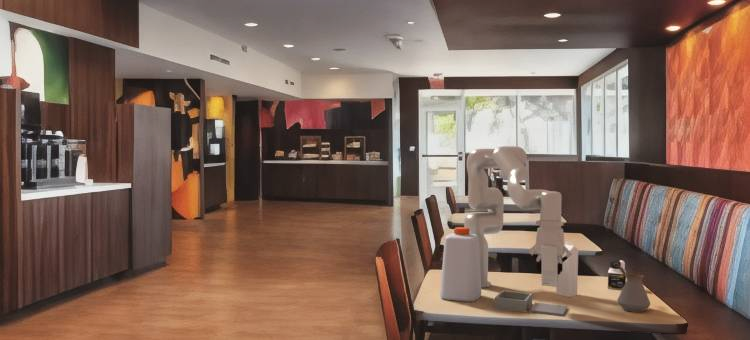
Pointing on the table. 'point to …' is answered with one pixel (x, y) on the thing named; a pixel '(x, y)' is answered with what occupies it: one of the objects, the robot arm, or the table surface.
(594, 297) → the table surface
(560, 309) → the pad
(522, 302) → the bin
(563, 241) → the robot arm
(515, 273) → the table surface
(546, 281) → the skincare box
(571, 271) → the milk
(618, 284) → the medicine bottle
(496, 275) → the table surface
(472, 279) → the plastic bottle
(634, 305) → the coffee pot
